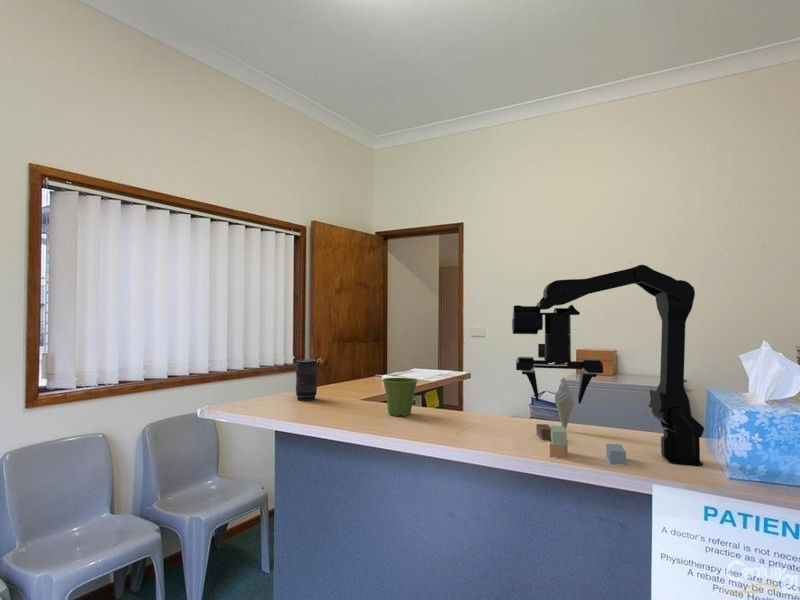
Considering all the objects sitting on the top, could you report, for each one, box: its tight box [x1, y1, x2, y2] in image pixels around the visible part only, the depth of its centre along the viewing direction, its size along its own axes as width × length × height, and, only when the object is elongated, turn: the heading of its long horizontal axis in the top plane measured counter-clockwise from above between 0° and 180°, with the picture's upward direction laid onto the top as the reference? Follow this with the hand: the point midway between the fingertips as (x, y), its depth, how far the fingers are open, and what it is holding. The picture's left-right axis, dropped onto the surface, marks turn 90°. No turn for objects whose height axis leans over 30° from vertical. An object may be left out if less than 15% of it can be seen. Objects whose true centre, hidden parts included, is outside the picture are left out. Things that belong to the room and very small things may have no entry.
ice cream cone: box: [554, 376, 575, 430], centre depth 128 cm, size 5×5×15 cm
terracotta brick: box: [549, 439, 569, 459], centre depth 105 cm, size 3×6×3 cm, turn 152°
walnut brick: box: [535, 423, 552, 442], centre depth 121 cm, size 3×6×3 cm, turn 176°
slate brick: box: [605, 443, 627, 465], centre depth 101 cm, size 3×6×3 cm, turn 164°
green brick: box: [550, 425, 568, 446], centre depth 106 cm, size 3×6×3 cm, turn 165°
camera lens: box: [295, 358, 318, 401], centre depth 176 cm, size 8×8×15 cm
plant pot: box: [381, 377, 419, 417], centre depth 149 cm, size 12×12×11 cm
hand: (558, 402), depth 106 cm, fingers open, 9 cm apart
